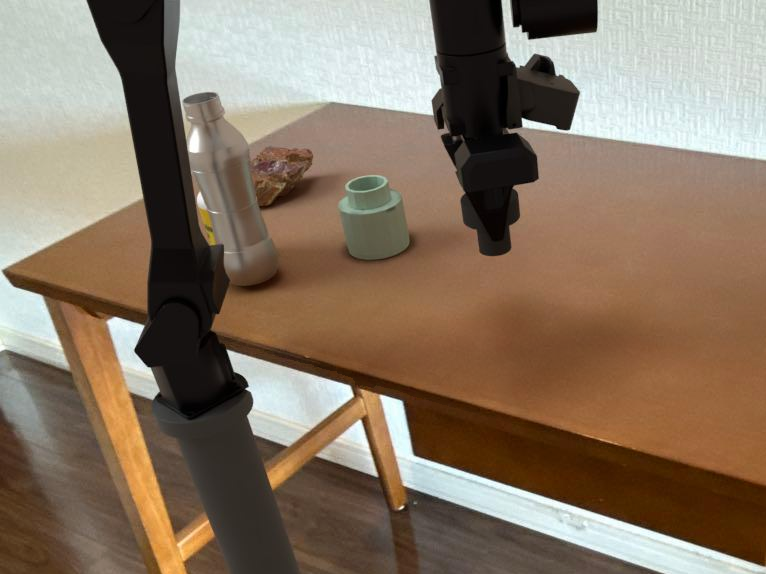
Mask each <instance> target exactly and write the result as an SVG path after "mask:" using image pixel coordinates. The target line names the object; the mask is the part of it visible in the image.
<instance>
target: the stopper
mask: <svg viewBox="0 0 766 574" xmlns="http://www.w3.org/2000/svg"><path fill="white" fill-rule="evenodd" d="M459 200H460V207H461V208H460V209H461V215H462V222H463V225H465V226H466V227H467V228H469V229H471V230H475V231H476V236H477V243H478V251H479V254H481V255H483V256H486V257H499V256H503V255H505V254H508V253H509V252H510V251H511V250H512V240H511V239H512V238H511V230H510V229H511V228H510V226H512V225H514V224H516V223H517V222H518V221H519V219H520V217H521V210H520V198H519V192H518V191H517V190H516V189H515V188H513V189H512V193H511V198H510V203H509V210H508V216H507V223H506V229H505V236H504V239H503V240H502V241H497V242H492V241H491V239H490V237H489V235H488V233H487V231H486V230H485V228H484V226H483V224H482V222H481V220H480V219H479V217H478V215H477V213H476V212H475V210H474V208H473V206H472V204H471V202H470V201H469V199H468V197H467V195H466V193H465V192H464V193H463V195H461V197H460V199H459Z"/></svg>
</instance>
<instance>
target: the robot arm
mask: <svg viewBox="0 0 766 574" xmlns="http://www.w3.org/2000/svg"><path fill="white" fill-rule="evenodd" d="M86 3H87V6H88V9H89V11H90V14H91V17H92V20H93V23H94V25H95V26H94V27H95V28H96V31H97V34H98V37H99V40H100V42H101V44H102V45H103V47H104V49H105V51H106V52H107V54H108V56H109V57H110V60H111V61H112V63H113V64H114V66H115V68H116V70H117V71H118V74H119V77H120V80H121V86H122V90H123V95H124V101H125V108H126V113H127V117H128V123H129V128H130V134H131V139H132V143H133V145H132V146H133V150H134V154H135V161H136V165H137V166H136V167H137V171H138V177H139V181H140V187H141V188H140V189H141V193H142V198H143V203H144V209H145V214H146V220H147V225H148V231H149V236H150V252H149V253H150V254H149V255H150V256H149V264H148V273H147V282H146V283H147V288H146V289H147V295H146V297H147V299H146V303H147V304H146V305H147V308H146V310H147V319H146V321H145V323H144V326H143V329H142V331H141V333H140V336H139V337H138V340H137V342H136V345H135V347H134V349H133V350H134V353H135V355H136V356H137V357H138V358H139V359H140V360H141V362H142V363H143V364H144V365H145V366H146V368H148V369H149V368H150V370H151V372H152V376H153V378H154V381H155V382H156V385H157V387H158V390H159V391H160V393H159V394H158V393H157V394H158V395H157V394H155V396H156V400H157V401H158V402H159V403H161V404H162V405H164V406H166V407H167V408H169V409H170V410H172V411H174V412H175V413H177V414H178V415H180V416H182V417H183V418H185V419H187V420H193V419H195V418H197V417H199V416H200V415H202V414H204V413H206V412H208V411H210V410H211V409H213V408H215V407H217V406H219V405H221V404H222V403H224V402H226V401H228V400H230V399H231V398H233V397H235V396H237V395H239V394H241V393H242V392H243V388H242V386H241V385H239V384H237V383H235V382H233V381H234V380H235V379H236V376H235V373H234V372H235V370H234V367H233V364H232V361H231V358H230V355H229V352H228V349H227V346H226V344H225V343H223V342H222V341H220V340H219V337H218V334H217V332H215V331H214V330H212V327H213V325H214V323H215V318H216V316H217V315H220V313H221V310H222V307H223V305H224V301H225V298H226V296H227V292H228V289H229V287H230V284H231V283H230V279H229V277H228V275H227V274H226V271H225V268H224V245H223V244H218V245H211V244H210V243H208V240H207V239H206V237H205V236H204V234H203V232H202V230H201V227H200V223H199V215H198V209H197V200H196V196H195V195H196V194H195V189H194V182H193V175H192V172H191V168H190V162H189V155H188V149H187V142H186V139H187V136H186V130H185V123H184V122H185V121H184V117H183V111H182V104H181V103H182V102H181V98H180V89H179V84H178V76H177V71H176V60H177V50H178V42H179V33H180V23H181V21H180V20H181V0H86ZM428 3H429V9H430V16H431V17H430V18H431V24H432V31H433V38H434V44H435V53H436V55H434V57H433V59H434V64H435V69H436V72H437V74H438V76H439V80H440V81H439V82H440V88H438V90H437V92H436V93H435V94H434V96H433V97H432V99H431V100H430V101H431V107H432V115H433V121H434V124H435V126H436V128H437V131H439V130H445V127H446V128H447V131H448V132H446V133H443V134H441V135H440V139H441V142H442V144H443V147H444V148H445V151H446V152H447V155H448V156H449V159H450V160H451V162H452V164H453V166H454V168H455V172H454V173H455V175H456V178H457V180H458V183H459V184H460V187H461V189H462V191H463V192H464V194H465V193H466V195H467V197H468V199H469V201H470V202H471V204H472V206H473V208H474V210H475V212H476V213H477V215H478V217H479V219H480V220H481V222H482V224H483V226H484V228H485V230H486V231H487V233H488V235H489V237H490V239H491V241H492V242H497V241H502V240H503V239H504V236H505V229H506V223H507V216H508V210H509V203H510V198H511V193H512V189H514V187H515V186H520V185H525V184H532V183H533V184H534V183H535V182H536V181H538V180H539V179H540V176H539V163H538V155H537V153H536V152H535V150H534V149H533V147H532V145H531V144H530V142H529V141H528V140H527V139H525V137H523V136H522V135H520V134H519V132H509V130H510V131H511V130H514V129H521V128H523V120H526V121H529V122H535V123H539V124H544V125H548V126H553V127H555V128H556V130H558V131H559V130H560V131H566V132H568V131H570V130H571V128H572V124H573V121H574V118H575V114H576V109H577V107H578V104H579V103H578V102H579V99H580V95H581V91H580V90H579V89H578V88H577V86H576V85H575V84H574V82H573V81H572V80H570V79H568V78H566V77H565V76H564V75H563V74H558V75H557V73H556V66H555V64H554V63H555V62H554V61H553V60H552V59H551V57H550V56H547V55H543V54H539V53H533V54H532V56H531V57H530V58H529V59H528V61H527V62H526V63H525V65H519V66H518V67H517V65H516V63H515V62H514V60H511V58H510V56H509V53H508V50H507V41H506V32H505V31H506V30H505V21H504V20H505V19H504V11H503V10H504V9H503V0H428ZM509 7H510V13H511V14H510V16H511V22H512V28H513V29H514V28H515V29H516V28H520V27H521V28H520V29H521V34H526V38H527V40H528V41H531V40H539V39H540V40H541V39H548V38H558V37H566V36H567V37H568V36H575V35H584V34H592V33H593V34H594V33H597V32H598V26H599V24H598V23H599V1H598V0H509Z"/></svg>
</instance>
